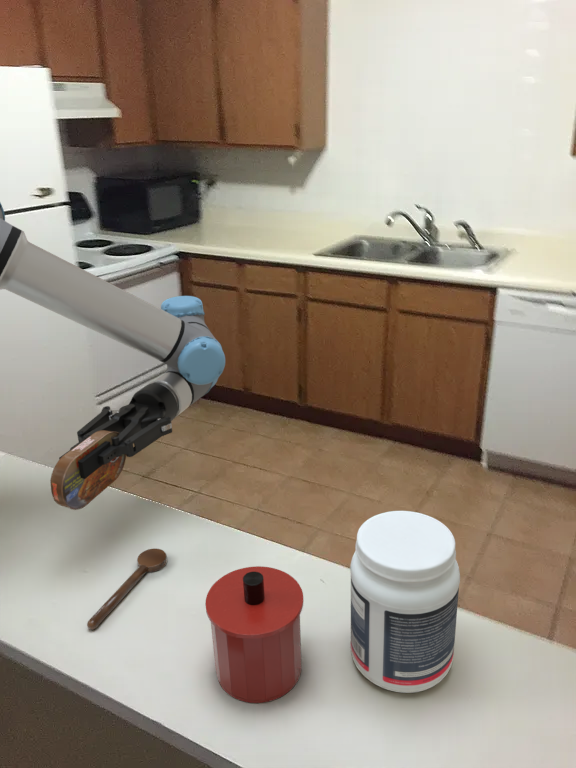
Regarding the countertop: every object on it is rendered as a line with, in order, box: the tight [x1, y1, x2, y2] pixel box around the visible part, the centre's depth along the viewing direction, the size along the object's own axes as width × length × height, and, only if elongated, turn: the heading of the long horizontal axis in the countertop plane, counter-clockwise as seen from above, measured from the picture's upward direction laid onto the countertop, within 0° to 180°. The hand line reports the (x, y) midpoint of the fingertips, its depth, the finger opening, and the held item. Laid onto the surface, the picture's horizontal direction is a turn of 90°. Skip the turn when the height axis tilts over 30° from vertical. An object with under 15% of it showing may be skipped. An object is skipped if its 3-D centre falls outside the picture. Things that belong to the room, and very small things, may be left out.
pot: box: [210, 614, 302, 704], centre depth 82 cm, size 11×11×10 cm
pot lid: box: [205, 565, 304, 639], centre depth 79 cm, size 12×12×4 cm
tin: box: [49, 430, 127, 511], centre depth 100 cm, size 15×3×8 cm, turn 157°
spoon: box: [86, 548, 168, 631], centre depth 97 cm, size 17×4×1 cm, turn 157°
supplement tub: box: [349, 510, 461, 694], centre depth 81 cm, size 13×13×18 cm
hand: (72, 468), depth 96 cm, fingers closed on tin, 3 cm apart
